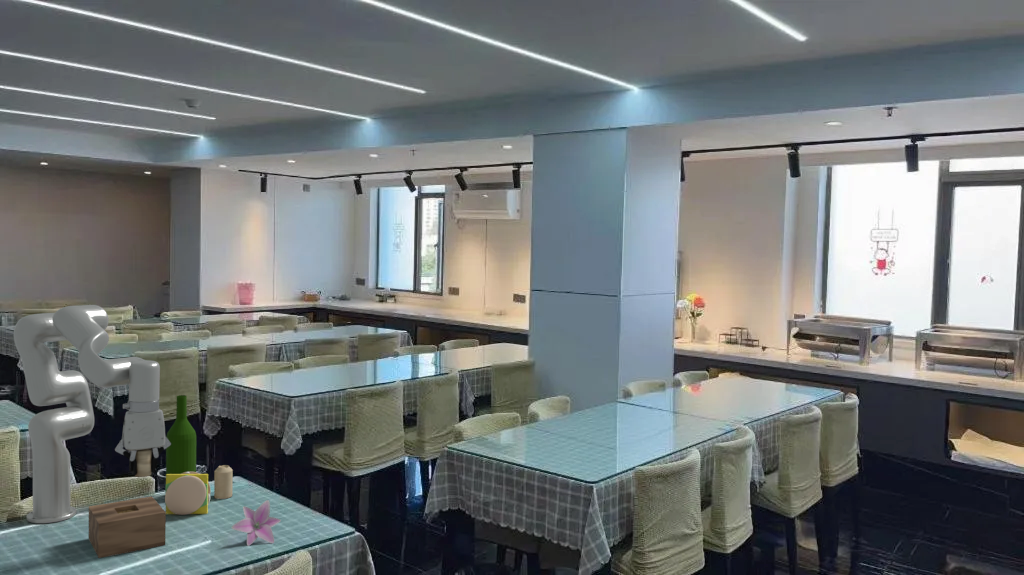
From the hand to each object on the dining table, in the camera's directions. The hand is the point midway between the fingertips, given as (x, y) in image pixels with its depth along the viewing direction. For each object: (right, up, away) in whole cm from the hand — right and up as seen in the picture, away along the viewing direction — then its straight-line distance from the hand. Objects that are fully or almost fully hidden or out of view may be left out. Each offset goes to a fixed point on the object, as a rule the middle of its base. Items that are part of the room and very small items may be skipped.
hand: (143, 472), depth 208 cm
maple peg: (0, -1, 0) cm, 1 cm away
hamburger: (+2, -18, +24) cm, 30 cm away
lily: (+30, -20, +2) cm, 36 cm away
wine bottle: (-6, -17, +38) cm, 43 cm away
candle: (+7, -17, +39) cm, 43 cm away
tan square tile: (-4, -12, -1) cm, 12 cm away
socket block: (-4, -19, -1) cm, 19 cm away
